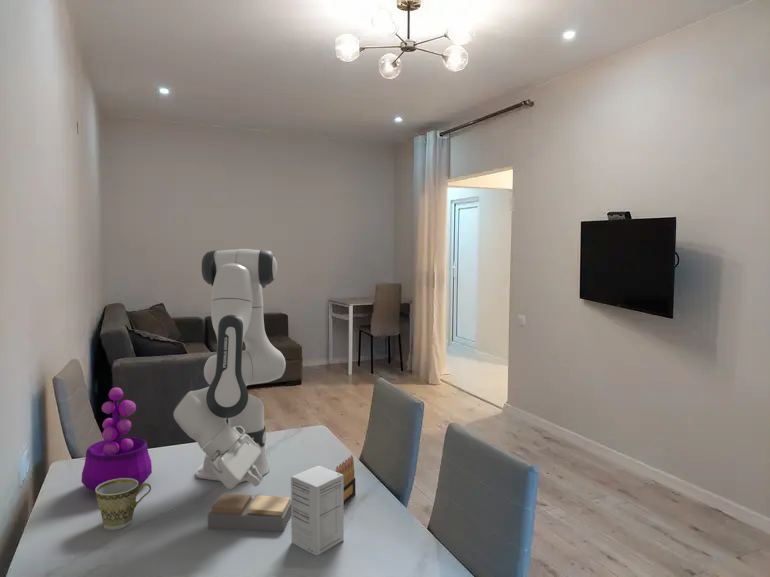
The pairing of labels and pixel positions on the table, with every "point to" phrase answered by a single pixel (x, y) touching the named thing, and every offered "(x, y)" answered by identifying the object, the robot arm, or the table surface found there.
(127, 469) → the decorative plant
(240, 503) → the floor base
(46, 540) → the table surface
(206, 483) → the table surface
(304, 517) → the supplement box
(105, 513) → the ceramic cup
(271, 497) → the oak plank
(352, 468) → the ammunition clip
